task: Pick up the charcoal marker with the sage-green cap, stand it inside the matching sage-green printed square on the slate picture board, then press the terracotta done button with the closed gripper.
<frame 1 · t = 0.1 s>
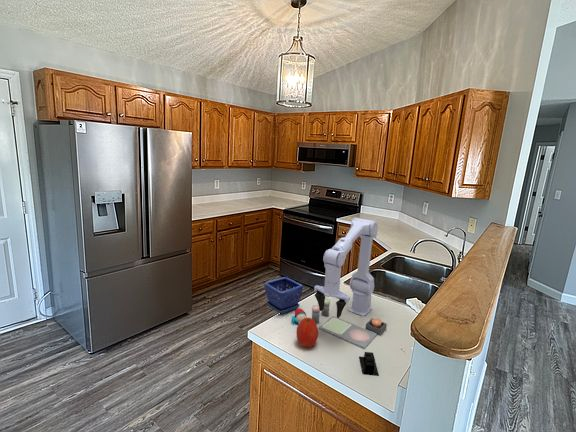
hand: (330, 313, 119), 10 cm above the countertop, tool pointing down, fingers open, 7 cm apart
rose marker: (315, 321, 131), on the countertop
button housing: (375, 329, 127), on the countertop
flower pot: (282, 308, 142), on the countertop
picture board: (347, 331, 125), on the countertop
done button: (376, 322, 127), point 3 cm above the countertop, slide at 0.0 cm
sage marker: (325, 314, 137), on the countertop
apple: (306, 344, 116), on the countertop
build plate: (368, 367, 105), on the countertop
toy figure: (302, 326, 128), on the countertop
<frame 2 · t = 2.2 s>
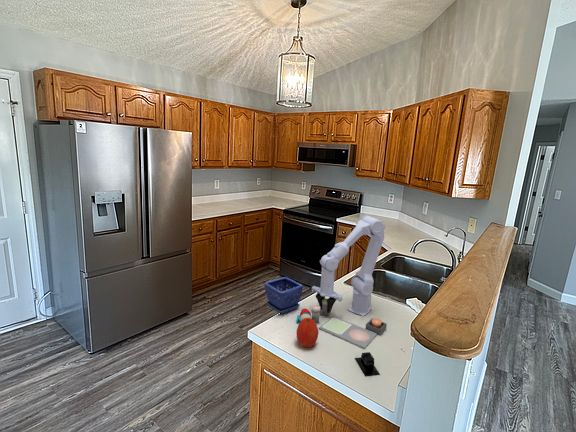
hand: (325, 310, 137), 2 cm above the countertop, tool pointing down, fingers closed on sage marker, 3 cm apart
sage marker: (325, 314, 137), on the countertop, touching gripper
toy figure: (305, 326, 129), on the countertop
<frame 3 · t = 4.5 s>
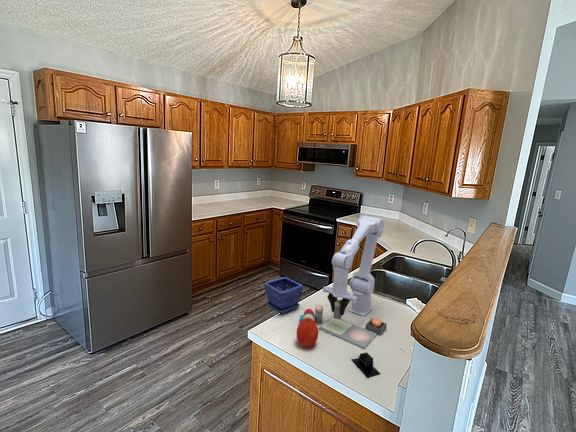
hand: (337, 312, 126), 7 cm above the countertop, tool pointing down, fingers closed on sage marker, 3 cm apart
rose marker: (318, 321, 131), on the countertop
sage marker: (337, 317, 127), point 5 cm above the countertop, touching gripper
when the fingers open (4 cm above the countertop, at t = 5.3 s): sage marker drops 1 cm, resting on picture board.
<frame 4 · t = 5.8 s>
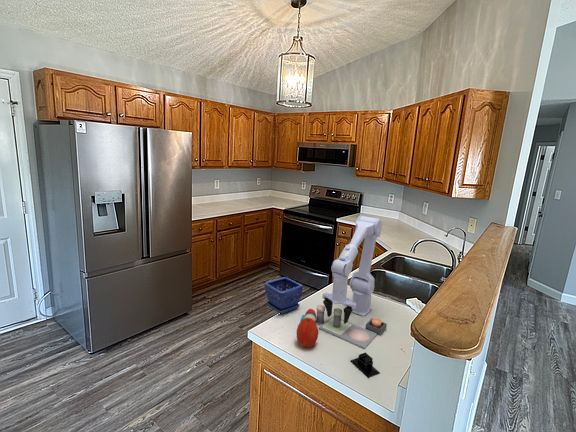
hand: (337, 319, 127), 4 cm above the countertop, tool pointing down, fingers open, 7 cm apart
sage marker: (336, 325, 127), point 1 cm above the countertop, touching picture board
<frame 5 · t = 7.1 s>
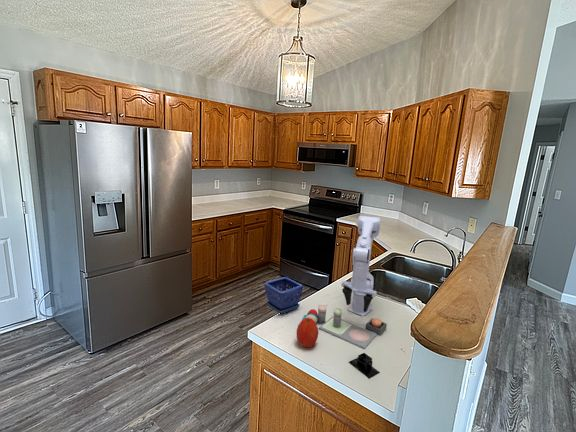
hand: (356, 307, 126), 9 cm above the countertop, tool pointing down, fingers open, 7 cm apart
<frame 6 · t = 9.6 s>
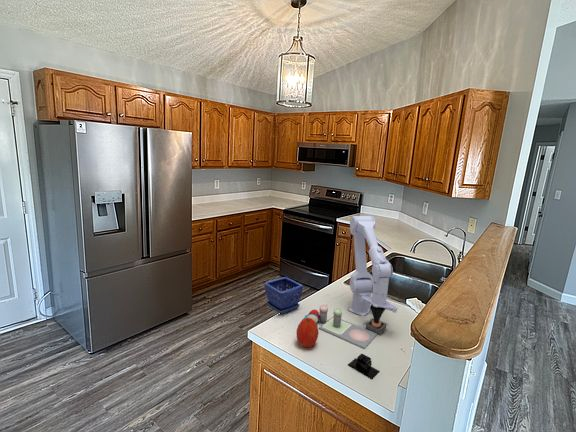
hand: (376, 322, 126), 3 cm above the countertop, tool pointing down, fingers closed, pressing on done button
done button: (376, 324, 127), point 2 cm above the countertop, slide at 0.7 cm, touching gripper
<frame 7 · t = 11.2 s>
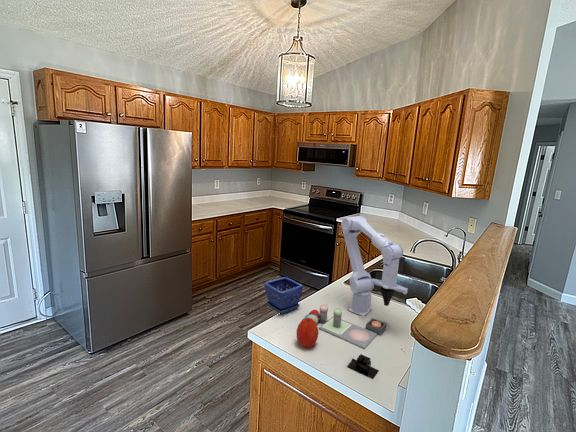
hand: (386, 304, 127), 10 cm above the countertop, tool pointing down, fingers closed
rose marker: (322, 321, 131), on the countertop, touching toy figure
done button: (376, 325, 127), point 2 cm above the countertop, slide at 1.2 cm
toy figure: (310, 326, 128), on the countertop, touching rose marker
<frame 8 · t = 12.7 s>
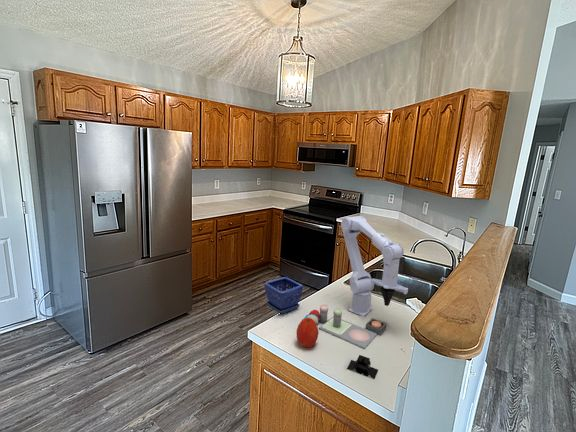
hand: (386, 304, 127), 10 cm above the countertop, tool pointing down, fingers closed
rose marker: (323, 321, 131), on the countertop
toy figure: (310, 326, 128), on the countertop
at the end: sage marker inside the target area on the picture board (0.1 cm from its centre), point 0.7 cm above the picture board's base; sage marker tilted 0°; done button slide at 1.2 cm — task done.
